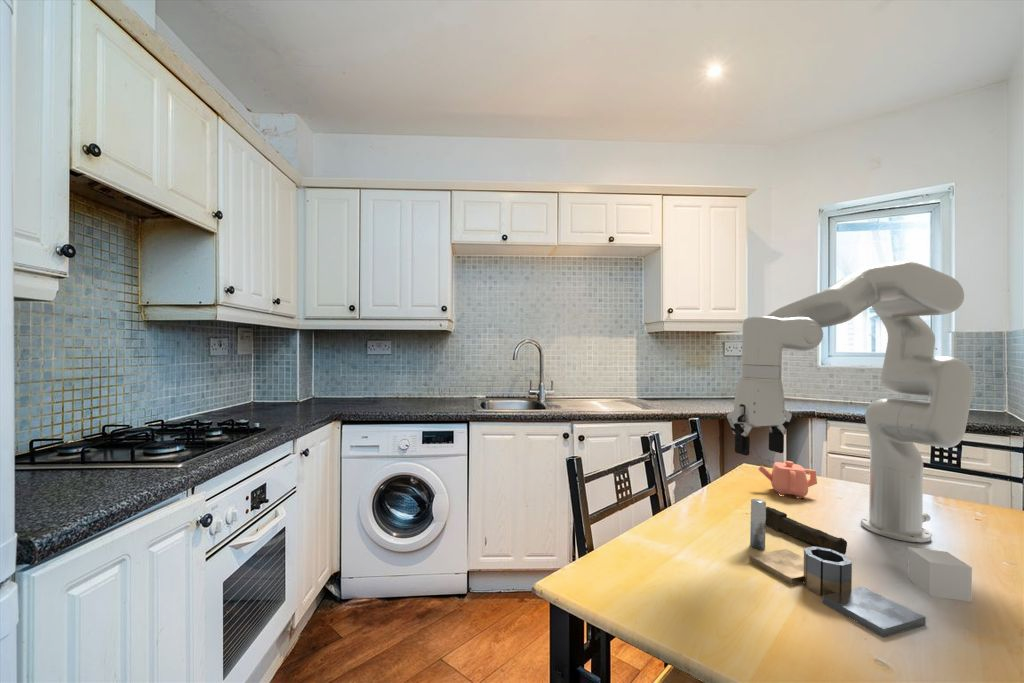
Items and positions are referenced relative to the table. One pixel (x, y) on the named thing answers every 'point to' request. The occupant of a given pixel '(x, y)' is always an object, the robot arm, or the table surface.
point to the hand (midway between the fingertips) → (759, 452)
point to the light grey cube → (940, 574)
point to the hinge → (839, 588)
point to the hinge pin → (758, 524)
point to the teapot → (790, 478)
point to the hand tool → (803, 531)
